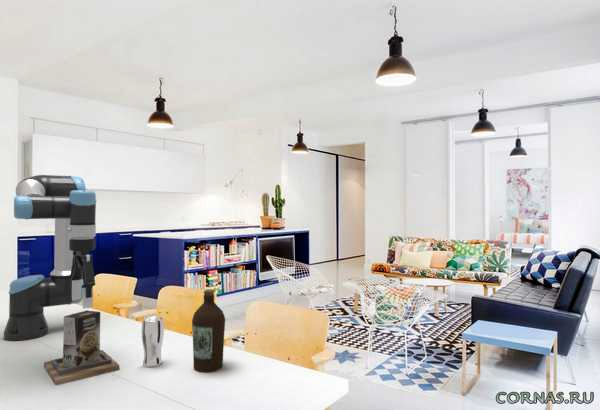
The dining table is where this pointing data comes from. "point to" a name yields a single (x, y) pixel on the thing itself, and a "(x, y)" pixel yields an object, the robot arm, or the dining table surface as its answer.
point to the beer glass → (152, 340)
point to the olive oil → (208, 335)
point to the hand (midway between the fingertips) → (81, 303)
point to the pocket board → (79, 369)
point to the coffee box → (81, 339)
